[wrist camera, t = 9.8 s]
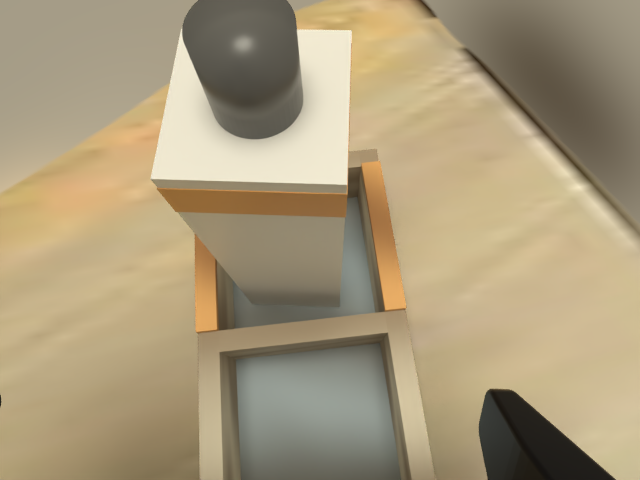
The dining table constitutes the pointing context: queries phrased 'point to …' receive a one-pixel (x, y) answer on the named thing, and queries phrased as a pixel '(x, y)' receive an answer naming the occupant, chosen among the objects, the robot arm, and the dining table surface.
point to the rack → (314, 365)
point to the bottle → (261, 147)
